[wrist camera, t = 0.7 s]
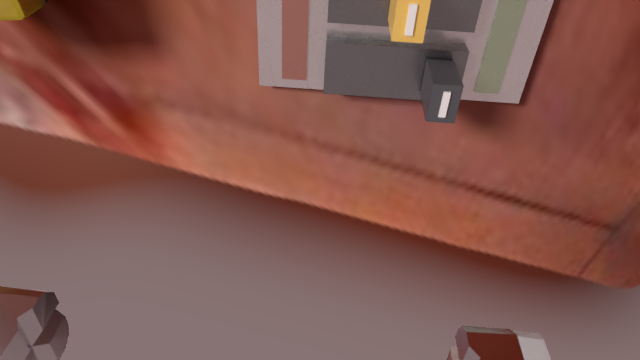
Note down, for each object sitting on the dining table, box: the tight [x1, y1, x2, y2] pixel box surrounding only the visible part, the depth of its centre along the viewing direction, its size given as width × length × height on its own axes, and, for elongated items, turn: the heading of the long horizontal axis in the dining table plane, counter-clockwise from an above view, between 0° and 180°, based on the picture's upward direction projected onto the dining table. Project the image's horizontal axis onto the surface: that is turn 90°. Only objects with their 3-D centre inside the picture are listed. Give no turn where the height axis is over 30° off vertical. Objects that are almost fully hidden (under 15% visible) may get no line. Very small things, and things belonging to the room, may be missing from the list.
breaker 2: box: [420, 59, 464, 123], centre depth 43 cm, size 4×2×5 cm
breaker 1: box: [388, 0, 431, 43], centre depth 39 cm, size 4×2×5 cm
